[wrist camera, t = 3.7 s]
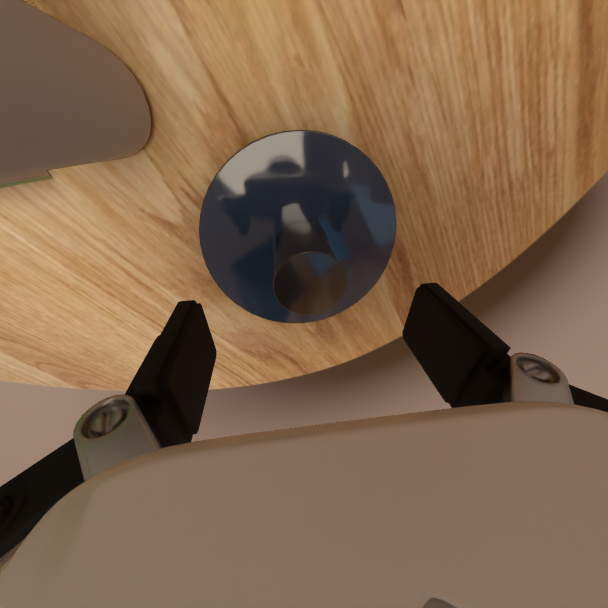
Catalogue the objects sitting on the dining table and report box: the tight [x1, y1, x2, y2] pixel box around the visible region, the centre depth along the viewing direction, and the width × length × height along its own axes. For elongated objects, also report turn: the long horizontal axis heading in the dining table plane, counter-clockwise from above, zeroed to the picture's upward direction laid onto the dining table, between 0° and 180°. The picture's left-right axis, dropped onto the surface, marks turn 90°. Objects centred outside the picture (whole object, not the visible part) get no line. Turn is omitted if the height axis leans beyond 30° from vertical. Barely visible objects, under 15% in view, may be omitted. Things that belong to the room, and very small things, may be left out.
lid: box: [199, 130, 396, 323], centre depth 15 cm, size 14×14×6 cm
